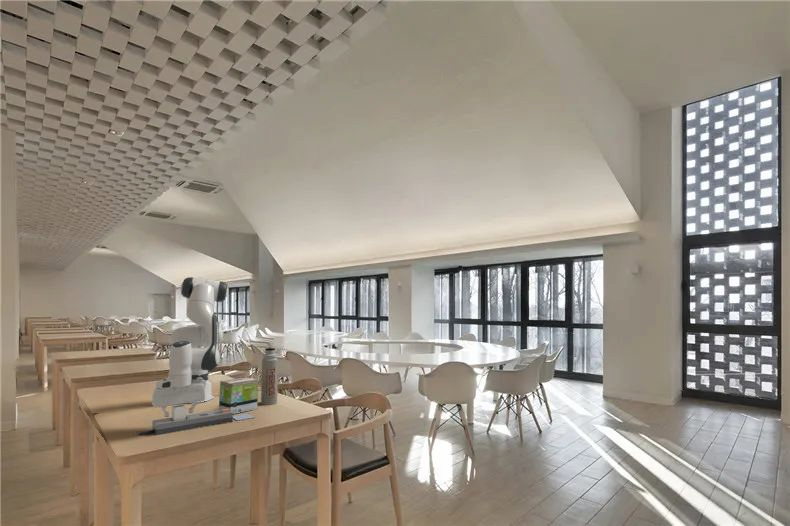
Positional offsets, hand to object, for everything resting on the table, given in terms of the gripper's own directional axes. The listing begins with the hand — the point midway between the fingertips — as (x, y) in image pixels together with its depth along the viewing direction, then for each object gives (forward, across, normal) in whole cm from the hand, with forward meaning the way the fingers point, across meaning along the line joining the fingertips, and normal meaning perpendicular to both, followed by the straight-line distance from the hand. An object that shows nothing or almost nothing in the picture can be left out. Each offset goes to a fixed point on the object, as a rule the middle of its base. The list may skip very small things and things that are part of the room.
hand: (178, 414), depth 188 cm
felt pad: (+6, -27, 0) cm, 28 cm away
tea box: (+6, -30, -14) cm, 34 cm away
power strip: (+6, -3, 0) cm, 6 cm away
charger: (+4, 0, 0) cm, 4 cm away
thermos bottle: (+6, -48, -20) cm, 52 cm away
